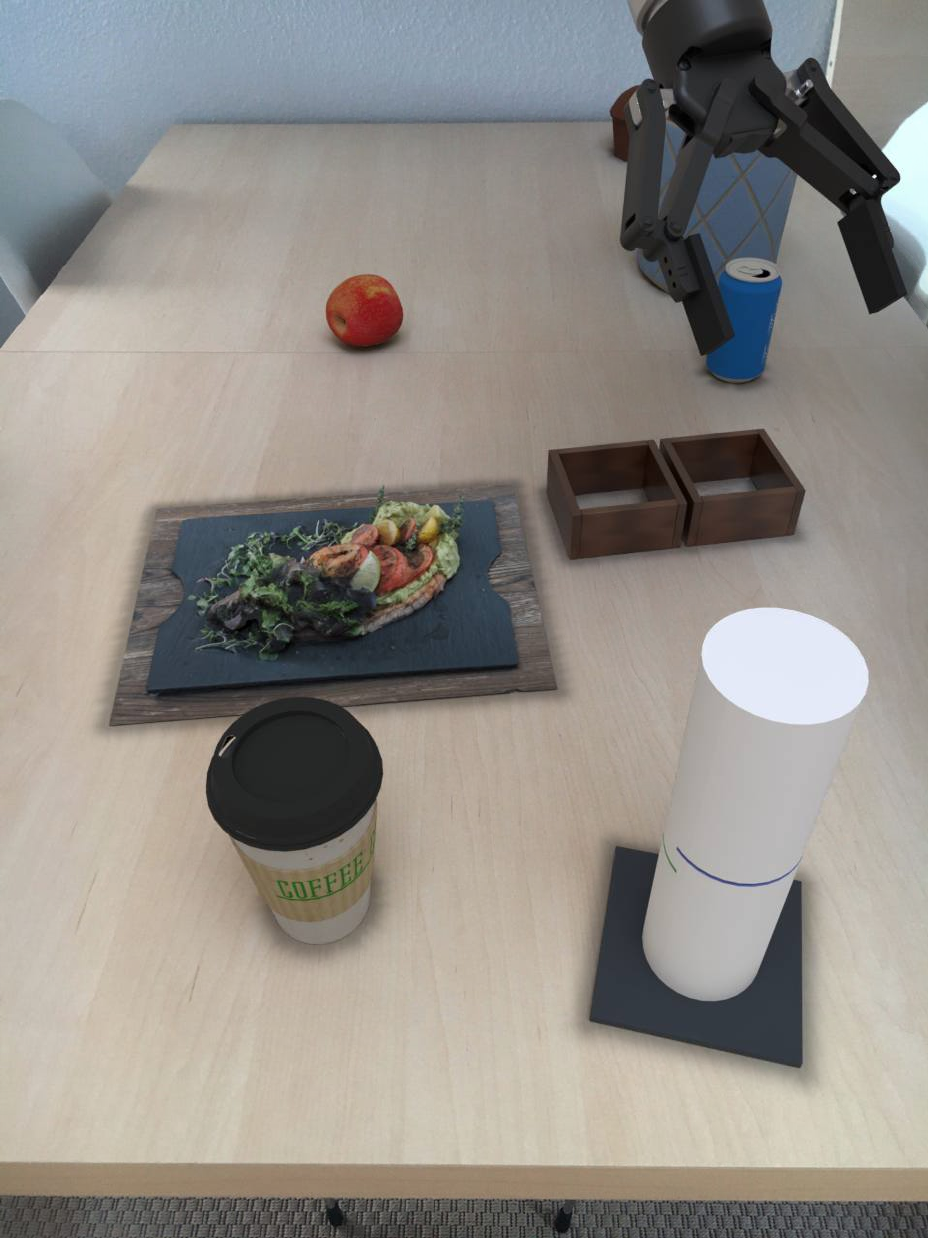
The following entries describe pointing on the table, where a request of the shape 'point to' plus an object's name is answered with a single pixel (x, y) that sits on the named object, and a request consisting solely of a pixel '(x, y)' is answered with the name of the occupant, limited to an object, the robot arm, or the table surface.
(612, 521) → the stand
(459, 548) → the plated dish
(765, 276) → the beverage can
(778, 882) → the cylindrical container
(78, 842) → the table surface
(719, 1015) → the mat
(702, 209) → the planter
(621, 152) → the muffin
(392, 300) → the apple
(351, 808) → the coffee cup
